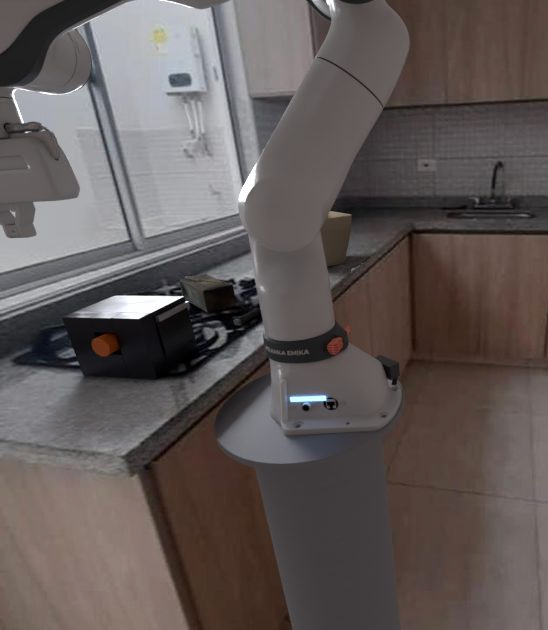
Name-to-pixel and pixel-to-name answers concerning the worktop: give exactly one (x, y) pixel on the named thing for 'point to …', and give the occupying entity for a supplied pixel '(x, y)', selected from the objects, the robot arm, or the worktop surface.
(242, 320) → the knife
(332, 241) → the flower pot
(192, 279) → the beverage carton
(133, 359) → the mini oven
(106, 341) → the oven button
